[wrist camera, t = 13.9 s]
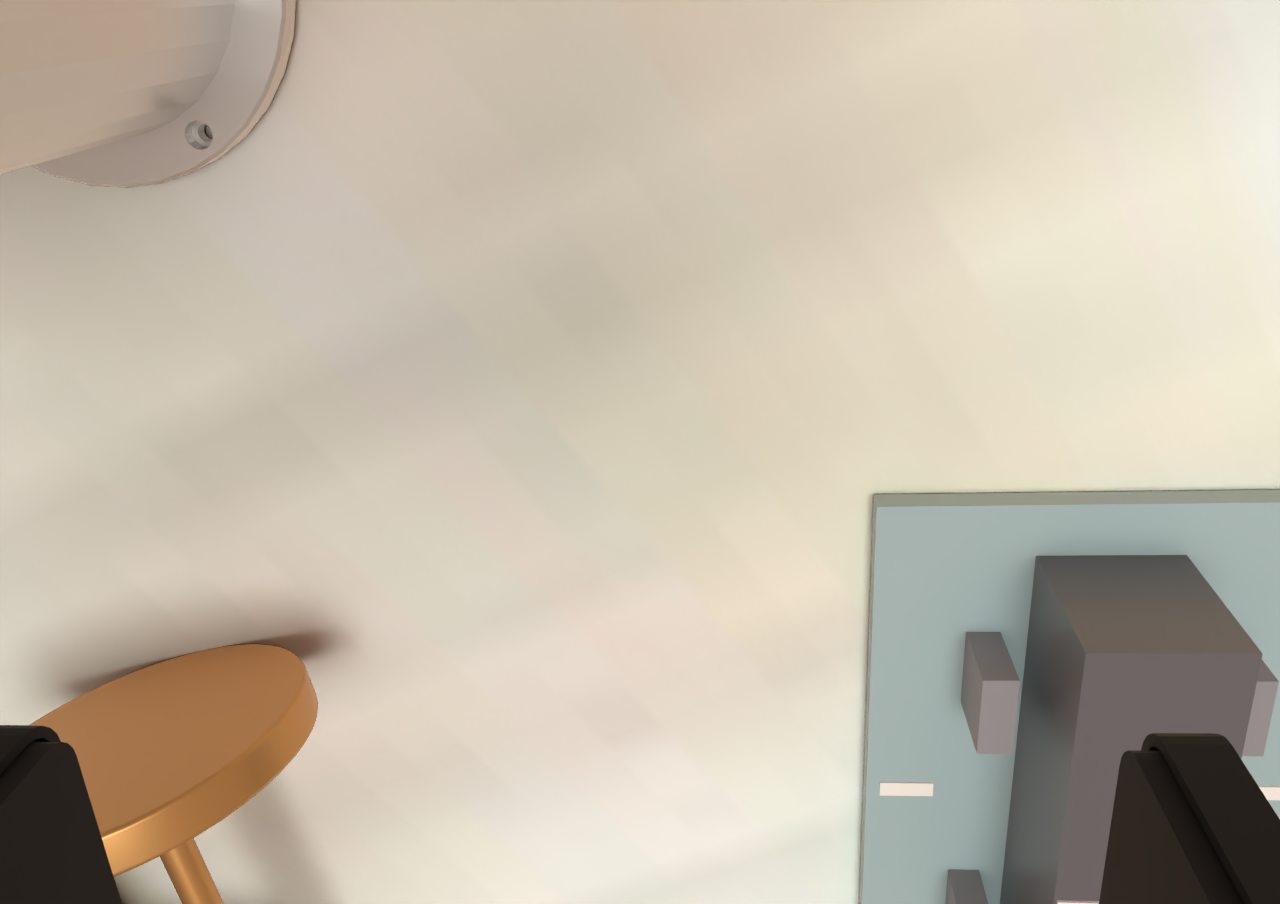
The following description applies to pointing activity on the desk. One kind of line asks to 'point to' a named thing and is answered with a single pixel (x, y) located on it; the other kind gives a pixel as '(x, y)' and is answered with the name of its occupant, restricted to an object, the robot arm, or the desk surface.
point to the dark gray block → (1111, 703)
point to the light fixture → (185, 751)
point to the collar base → (1015, 658)
